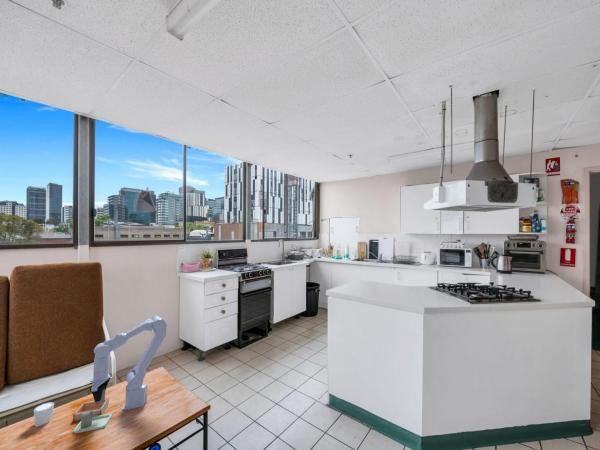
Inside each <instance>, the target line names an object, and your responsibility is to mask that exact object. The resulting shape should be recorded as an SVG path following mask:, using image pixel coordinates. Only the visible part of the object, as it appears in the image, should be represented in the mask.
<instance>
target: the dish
mask: <svg viewBox="0 0 600 450" xmlns="http://www.w3.org/2000/svg"><path fill="white" fill-rule="evenodd" d="M109 400H110V398H105V401H104V402H103V403H101V404H94V400H90V401H85V402H82V404H80V406H79V407H78V408H77V409H76V411H75V412H74V413H73V414H72V422H77V421H81V415H82V414H83V413H85V412H87V411H92V412H93V414H92V417H94V416H99V415H104V413H105V411H106V409H107V408H108V406H109V403H110V402H109Z"/></svg>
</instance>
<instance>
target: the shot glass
mask: <svg viewBox="0 0 600 450" xmlns="http://www.w3.org/2000/svg"><path fill="white" fill-rule="evenodd" d="M54 409H55V402H53V401H49V402H45V403H41V404H40V405H38V406H36V407H35V408H34V409H33V420H34V422H33V423H34V427H40V426H43V425H45V424H47V423H49V422H51V420H52V419H53V413H54Z"/></svg>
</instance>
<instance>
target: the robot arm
mask: <svg viewBox="0 0 600 450" xmlns="http://www.w3.org/2000/svg"><path fill="white" fill-rule="evenodd" d="M167 327H168V324H167V322H166V320H165V319H163V318H162V317H161V316H160V315H153V316H151V317H149V318H147V319H146V320H145V321H143V322H142V323H140V324H138V325H137V326H135V327H133V328H131V329H130V330H129V331H126V332H125V333H123V332H121V333H116V334H115V336H112V337H111V338H110V339H107V340H104V341H103V342H100V343H98V344H97V345H96V346H94V349H93V354H94V358H93V359H94V361H93V371H92V372H93V376H92V378H91V379H90V380H89V383H91V385H92V386H91V387H90V388H89V392H90V393H91V395H92V396H93V401H95V402H98V401H100V400H101V397H102V392H103V389H105V392H106V391H107V387H108V385H109V382H110V380H111V377H109V374H110V373H109V363H110V362H109V361H110V360H109V359H110V358H109V355H110V353H111V352H113V351H115V350H116V349H118V348H120V347H122V346H124V345H125V344H126V343H127V342H128V341H129V339H131V338H133V337H135V336H137V335H140V334H141V333H142V332H145V331H147V332H148V331H149V332H152V331H153V334H154V336H153V338H152V339H151V341H150V342H149V344H148V346H147V348H146V350H145V351H144V353H143V355H142V356H141V357H140V359H139V361H138V362H137V364H136V365H135V366H133V368H132V369H131V370H129V372H127V374H126V376H125V381H126V382H127V384H126V387H125V398H124V399H125V400H124V401H125V402H124V405H123V406H122V408H121V410H123V411H124V410H131V409H136V408H141V407H142V408H143V407H144V406H145V403H146V402H147V399H148V384H147V383H145V384H143V383H144V379H145V377H146V373H147V369H148V367H149V366H150V363H151V362H152V360H153V358H154V357H155V355H156V353H157V352H158V350H159V348H160V347H161V346H162V343H163V341H164V340H165V338H166V336H167Z"/></svg>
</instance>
